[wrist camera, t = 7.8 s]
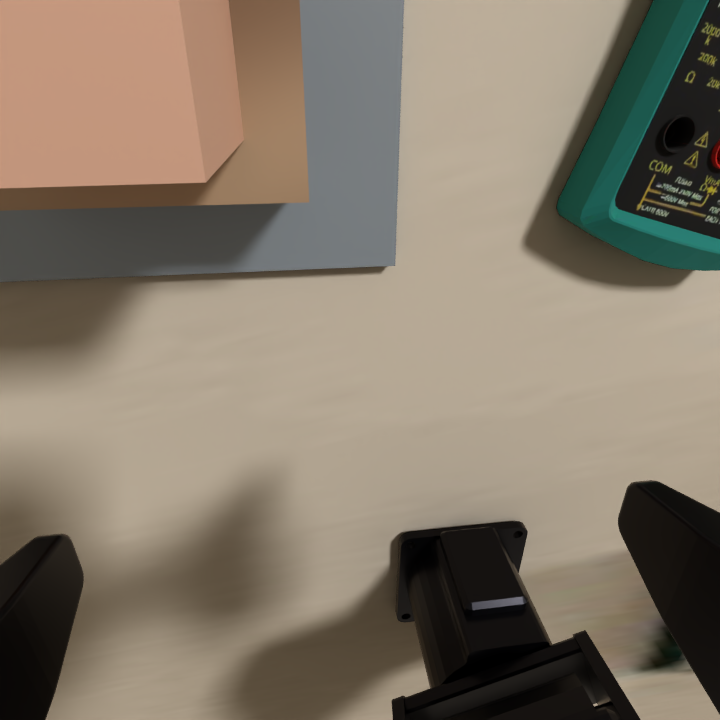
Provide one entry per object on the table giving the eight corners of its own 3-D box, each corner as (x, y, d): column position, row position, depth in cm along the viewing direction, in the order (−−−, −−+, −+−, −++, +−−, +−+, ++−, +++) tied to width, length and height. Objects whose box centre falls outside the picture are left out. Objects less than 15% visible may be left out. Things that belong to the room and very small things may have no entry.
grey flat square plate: (391, 260, 18) (395, 265, 17) (-25, 277, 16) (-36, 283, 16) (409, -341, 11) (415, -362, 11) (-291, -408, 10) (-325, -436, 9)
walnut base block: (304, 177, 16) (309, 202, 12) (35, 183, 15) (-44, 212, 11) (286, -177, 12) (285, -288, 8) (-80, -197, 11) (-250, -331, 7)
